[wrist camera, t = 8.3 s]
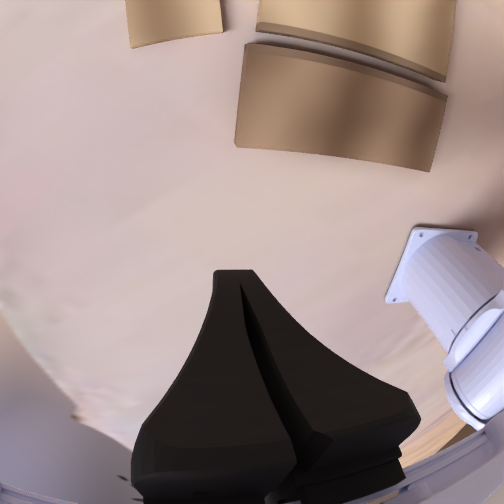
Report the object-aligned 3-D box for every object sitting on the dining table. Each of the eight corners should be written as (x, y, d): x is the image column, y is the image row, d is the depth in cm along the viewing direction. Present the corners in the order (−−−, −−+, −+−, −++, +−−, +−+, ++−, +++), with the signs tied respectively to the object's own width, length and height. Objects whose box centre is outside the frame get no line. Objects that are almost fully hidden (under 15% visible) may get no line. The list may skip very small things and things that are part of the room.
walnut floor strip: (436, 92, 17) (447, 95, 16) (420, 166, 21) (429, 172, 20) (244, 44, 15) (248, 42, 14) (234, 142, 18) (236, 147, 17)
